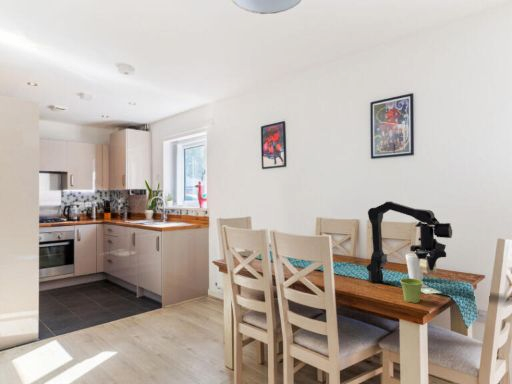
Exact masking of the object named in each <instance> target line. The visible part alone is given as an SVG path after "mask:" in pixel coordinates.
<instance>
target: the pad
mask: <svg viewBox="0 0 512 384" xmlns="http://www.w3.org/2000/svg"><path fill="white" fill-rule="evenodd" d="M421 293H424V294H425V295H431V294H443V292H442V291H440V290H438V289H435V288H433V287H428V288H421Z"/></svg>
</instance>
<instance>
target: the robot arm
mask: <svg viewBox="0 0 512 384" xmlns="http://www.w3.org/2000/svg"><path fill="white" fill-rule="evenodd" d="M389 211H393V212H397V213H399V214H403V215H407V216H410V217H412V218H414V219H415V220H416V221H419V222H418V223H416V225H415V226H414V227H416V228H417V227H418V228H419V231H420V235H419V236H420V238H419V237H418V239H417V240H418V241H420V244H414V245H413V244H412V245H411V246H410V247H409V248H410V250H409V251H410V252H414V254H416V256H417V257H418V259H419V261H420V259H425V258H427V261H428V264H429V268H430V270H433V268H434V266H435V263H436V264H437V260H439V259H441V258H447V252H446V251H445V250H446V244H443V243H440V242H438V240H437V239H436V238H434V237H437V238H445V239H451V238H452V237H453V228H452V226H451V223H450V222H449V223H448V222H446V223H445V222H439V220H438V219H437V218H436V216H435V213H434V212H433V211H432V210H430V209H424V208H423V209H421V208H415V207H414V208H413V207H410V206H407V205H404V204H400V203H397V202H393V201H389V200H388V201H385V202H384V203H383V204H380V205H378V206H375V207H371V208H369V209H368V210H367V217H368V220H369V222H370V224H371V233H372V235H371V236H372V253H371V257H370V263H369V264H368V265H366V270H367V274H368V278H367V280H366V281H368V282H369V283H372V284H377V283H379V284H381V283H385V281H384V272H383V269H384V267H385V266H386V265H387V262H388V257H387V256H388V254H387V253H384V250H383V239H382V238H383V237H382V236H383V235H382V222H383V219H384V214H385V213H387V212H389Z"/></svg>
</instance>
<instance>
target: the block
mask: <svg viewBox="0 0 512 384" xmlns="http://www.w3.org/2000/svg"><path fill="white" fill-rule="evenodd" d="M420 271H421V272H423V274H426V275H427V274H428V275H429V274H436V273H437V262H436V263H435V266H434V268H433V270H430V268H429V264H428V261H427V257H426V258H425V259H420Z"/></svg>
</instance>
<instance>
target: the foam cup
mask: <svg viewBox="0 0 512 384" xmlns="http://www.w3.org/2000/svg"><path fill="white" fill-rule="evenodd" d="M405 259H406V267H407V272H408V277H409V278H410V279H418V280H421V281H423V279H424V272H421V271H420V261H419V259H418V257H417V256H416V254H415V253H406V254H405Z"/></svg>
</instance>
